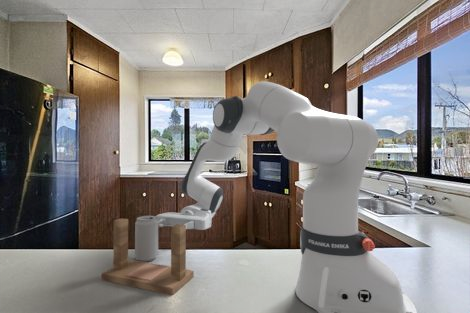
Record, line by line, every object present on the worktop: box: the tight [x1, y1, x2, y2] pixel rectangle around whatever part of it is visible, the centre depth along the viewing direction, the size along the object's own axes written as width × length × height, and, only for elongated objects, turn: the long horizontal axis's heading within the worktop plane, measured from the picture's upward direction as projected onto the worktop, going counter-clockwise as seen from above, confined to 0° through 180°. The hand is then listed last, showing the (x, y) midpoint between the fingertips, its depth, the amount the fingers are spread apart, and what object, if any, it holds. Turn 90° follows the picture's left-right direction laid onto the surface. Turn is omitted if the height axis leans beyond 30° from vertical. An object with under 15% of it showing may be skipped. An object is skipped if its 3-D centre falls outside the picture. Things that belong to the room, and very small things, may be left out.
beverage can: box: [134, 215, 159, 263], centre depth 74 cm, size 6×6×12 cm
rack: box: [101, 218, 195, 296], centre depth 62 cm, size 20×9×14 cm, turn 70°
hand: (170, 225), depth 86 cm, fingers open, 8 cm apart
